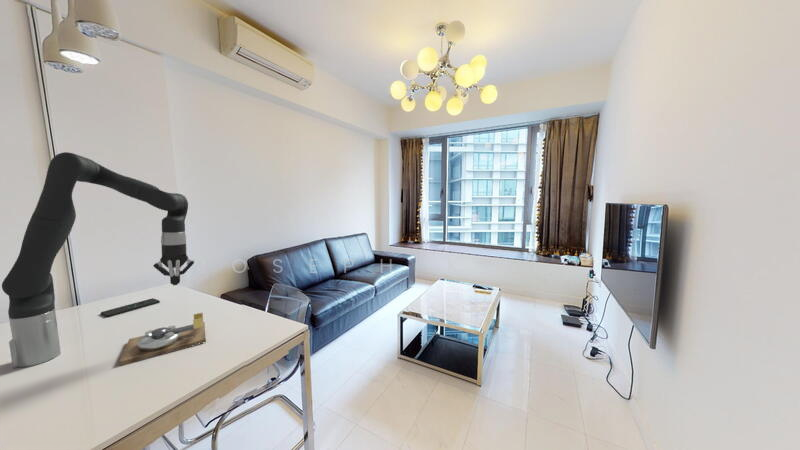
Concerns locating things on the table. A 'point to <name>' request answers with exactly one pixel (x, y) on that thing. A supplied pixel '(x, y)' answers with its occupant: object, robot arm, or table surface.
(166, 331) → the silver rotary lever
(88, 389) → the table surface
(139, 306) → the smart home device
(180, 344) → the base plate
